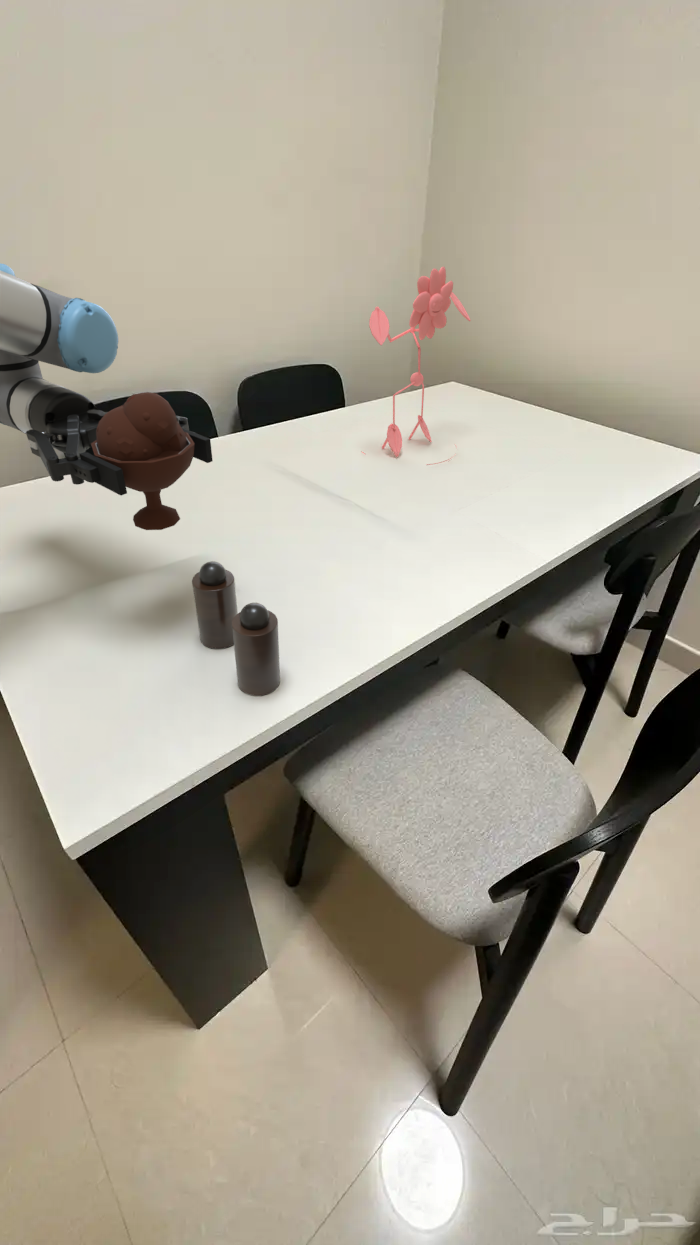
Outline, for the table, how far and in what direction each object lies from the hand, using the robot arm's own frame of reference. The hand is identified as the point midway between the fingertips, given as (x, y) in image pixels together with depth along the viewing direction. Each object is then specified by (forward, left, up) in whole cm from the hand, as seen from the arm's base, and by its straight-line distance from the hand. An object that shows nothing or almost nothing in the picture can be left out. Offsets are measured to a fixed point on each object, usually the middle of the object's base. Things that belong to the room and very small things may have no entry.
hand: (168, 465), depth 64 cm
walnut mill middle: (+2, -5, -22) cm, 23 cm away
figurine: (+67, +28, -22) cm, 76 cm away
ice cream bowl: (-1, +4, -8) cm, 9 cm away
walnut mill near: (+2, -15, -22) cm, 26 cm away
